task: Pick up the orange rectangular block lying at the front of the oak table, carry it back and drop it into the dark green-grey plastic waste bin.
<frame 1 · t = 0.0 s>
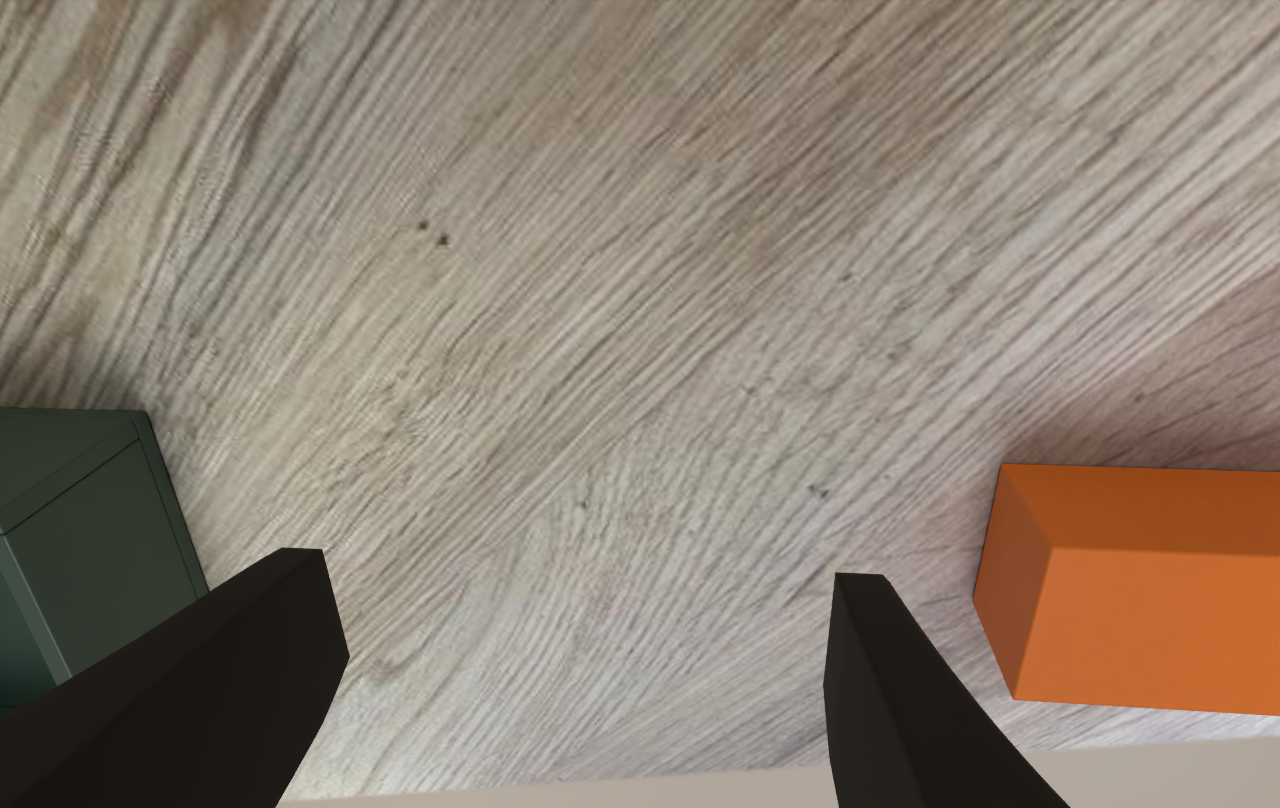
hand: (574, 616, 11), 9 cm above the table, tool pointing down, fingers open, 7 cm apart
orange rectangular block: (1146, 541, 20), on the table
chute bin: (28, 574, 25), on the table
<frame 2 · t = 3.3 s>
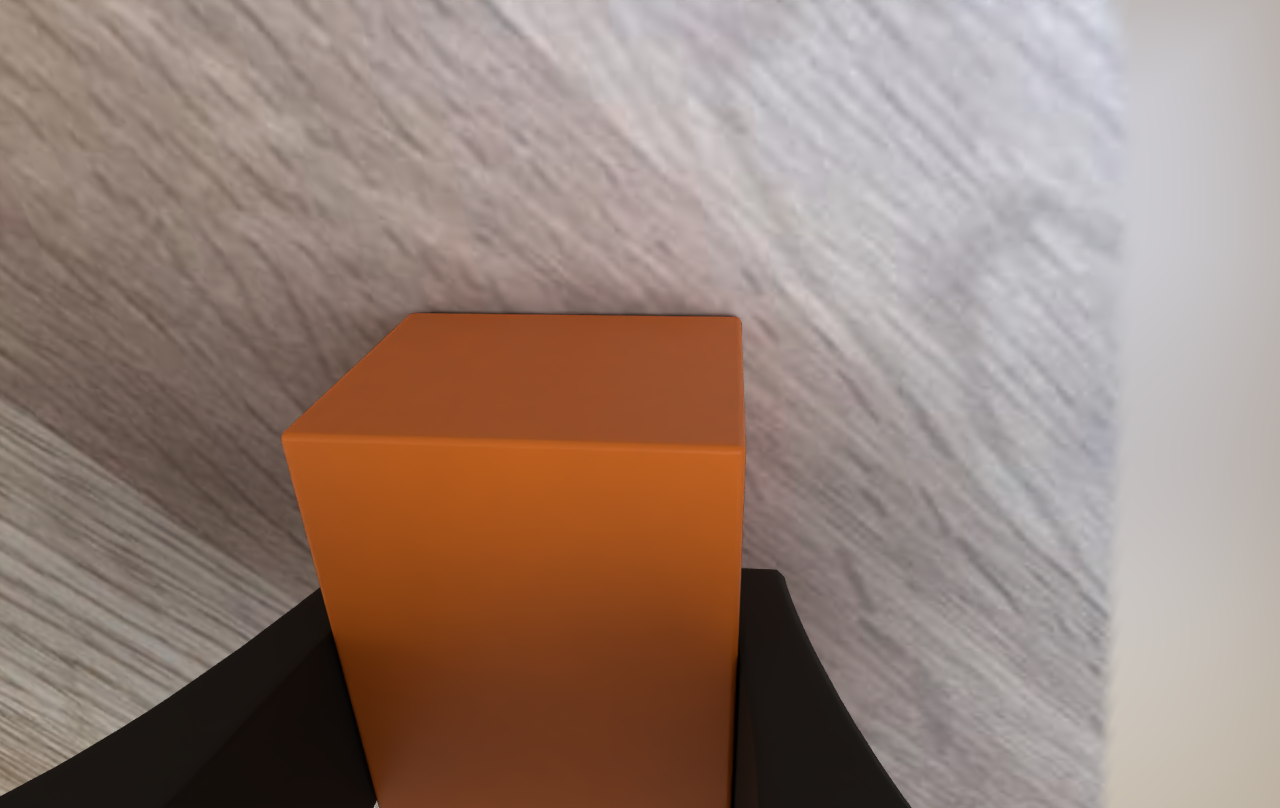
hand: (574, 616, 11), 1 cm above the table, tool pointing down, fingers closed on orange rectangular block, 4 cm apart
orange rectangular block: (588, 554, 12), on the table, touching gripper
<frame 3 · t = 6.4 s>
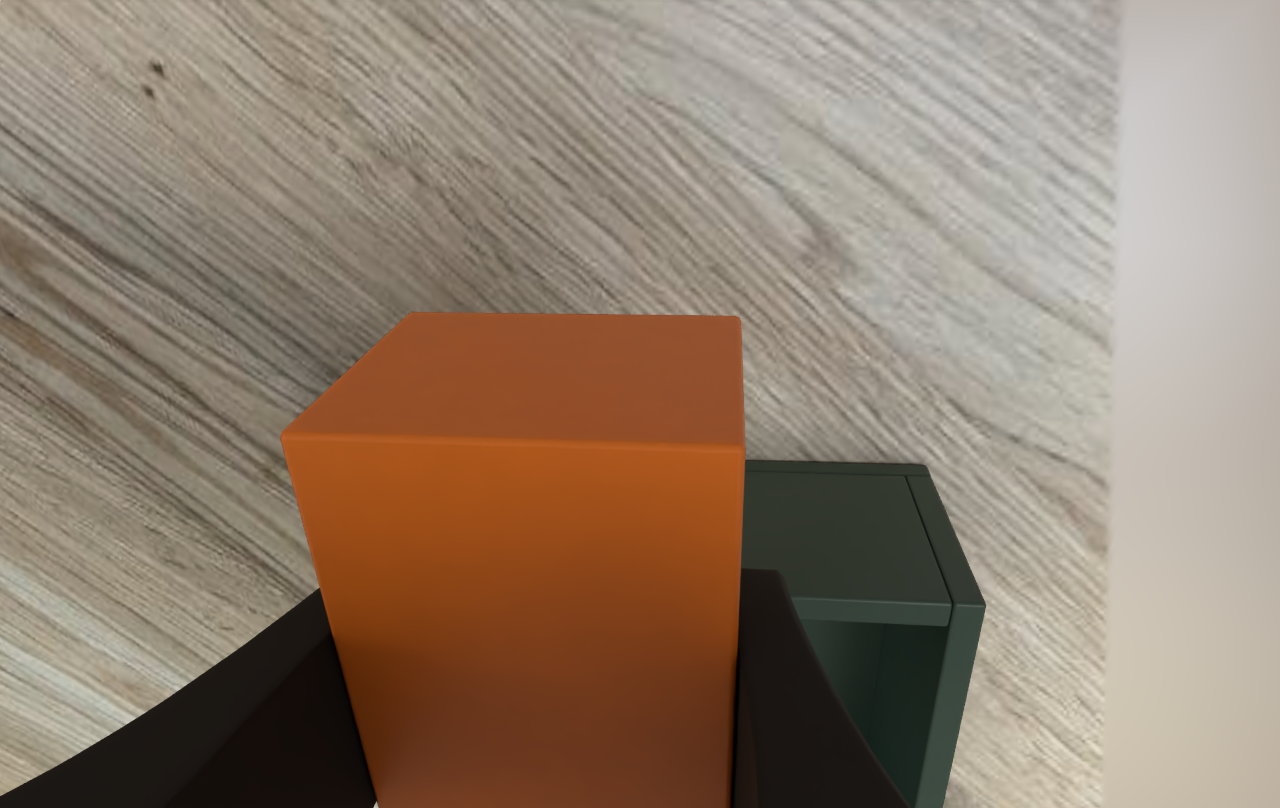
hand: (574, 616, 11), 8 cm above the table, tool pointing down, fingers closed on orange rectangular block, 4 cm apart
orange rectangular block: (588, 554, 12), point 7 cm above the table, touching gripper
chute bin: (676, 642, 22), on the table
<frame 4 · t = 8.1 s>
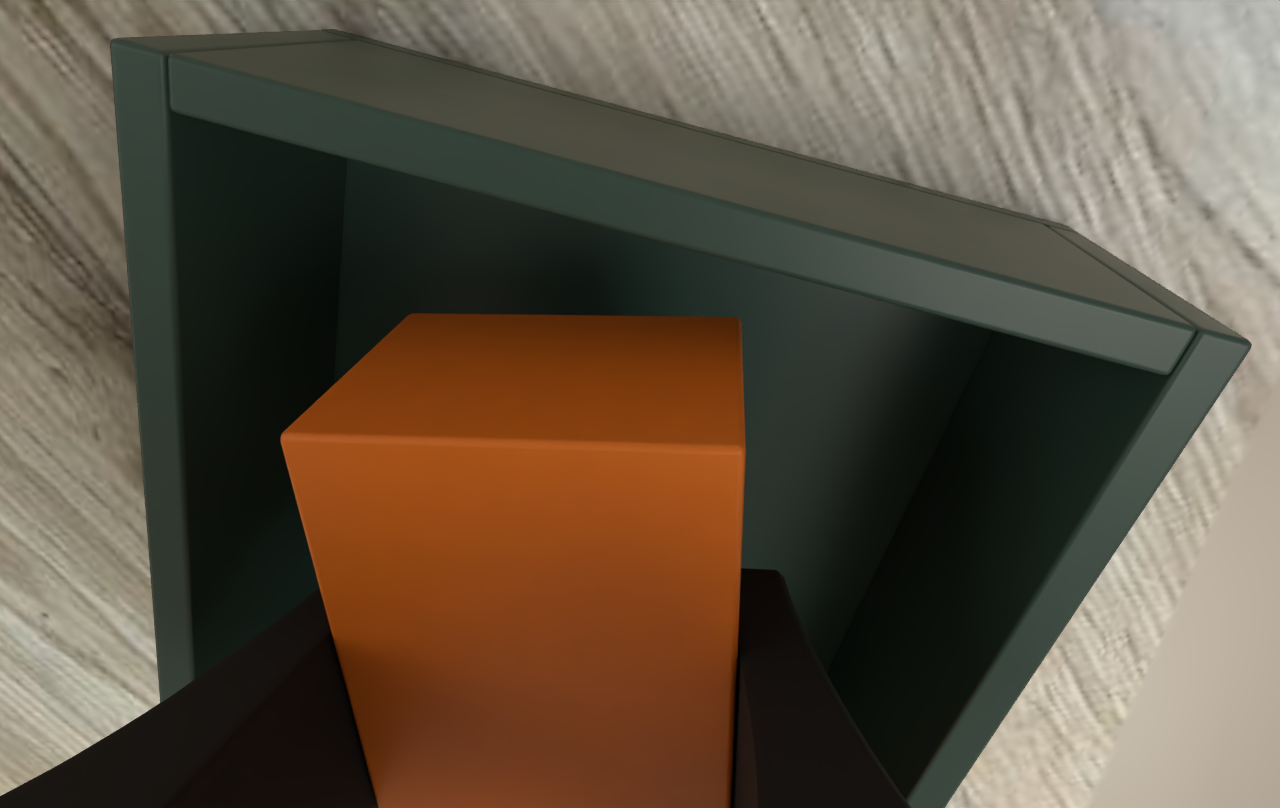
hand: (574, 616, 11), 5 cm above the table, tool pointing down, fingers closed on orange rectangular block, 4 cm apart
orange rectangular block: (588, 555, 12), point 3 cm above the table, touching gripper
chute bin: (619, 446, 15), on the table
when the fingers open (2 cm above the table, at t = 9.5 s): orange rectangular block stays where it is, resting on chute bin.
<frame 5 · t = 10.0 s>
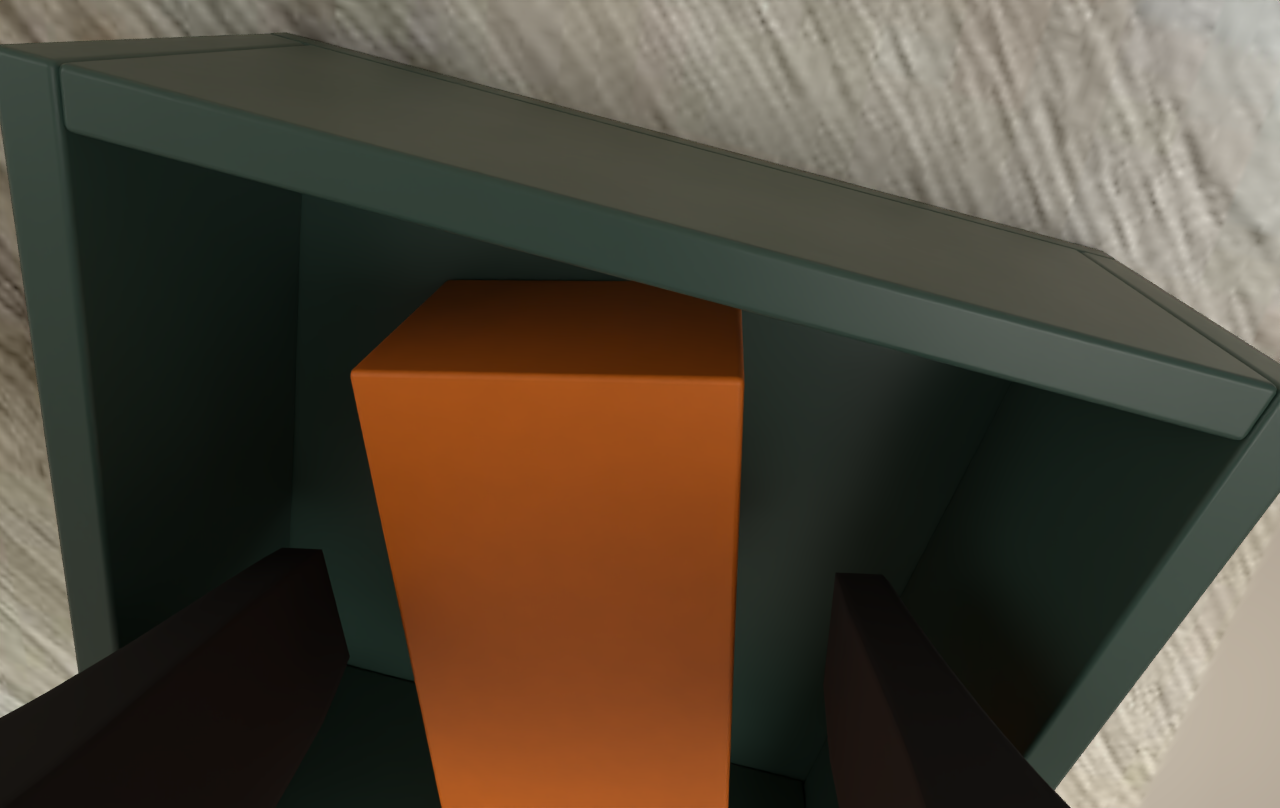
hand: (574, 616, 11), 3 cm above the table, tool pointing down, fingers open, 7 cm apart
orange rectangular block: (602, 501, 13), resting on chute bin
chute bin: (607, 486, 14), on the table
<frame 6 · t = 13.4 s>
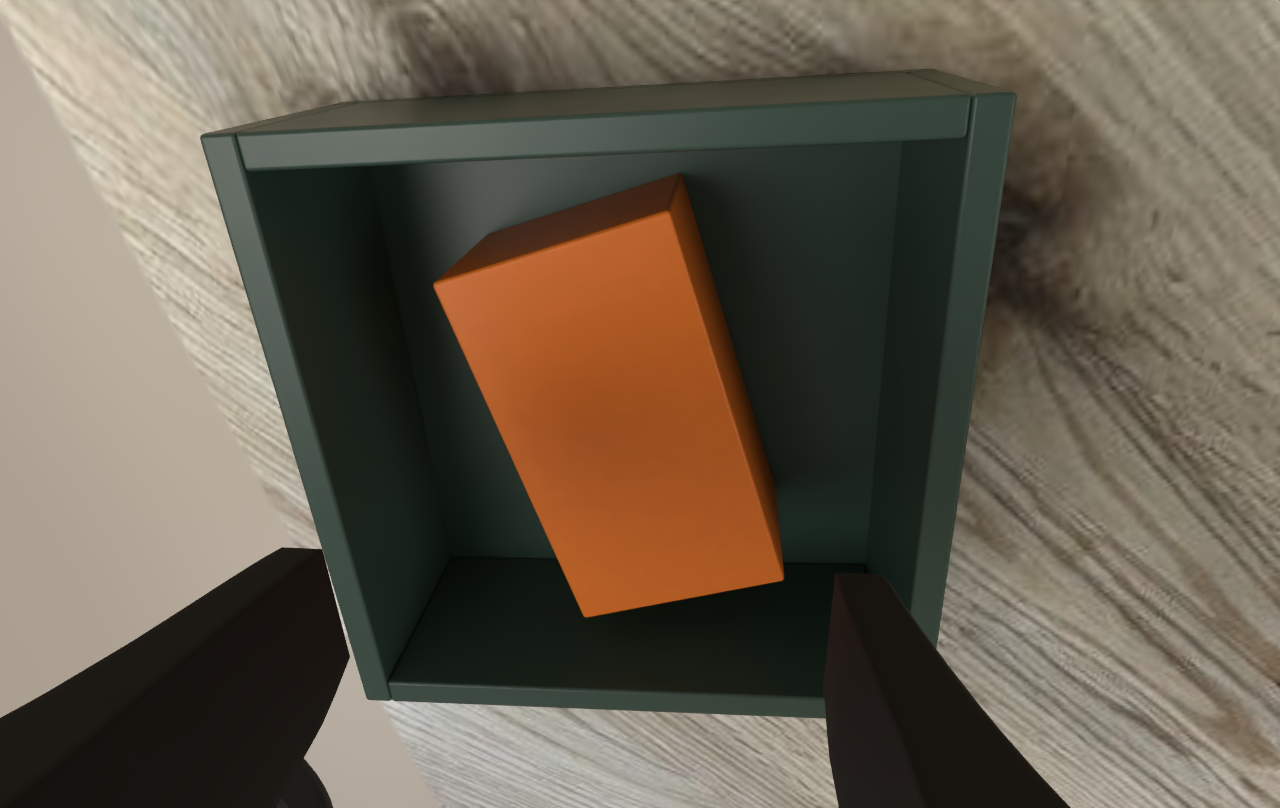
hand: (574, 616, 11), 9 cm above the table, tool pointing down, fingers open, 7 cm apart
orange rectangular block: (639, 369, 18), resting on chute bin
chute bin: (641, 361, 19), on the table
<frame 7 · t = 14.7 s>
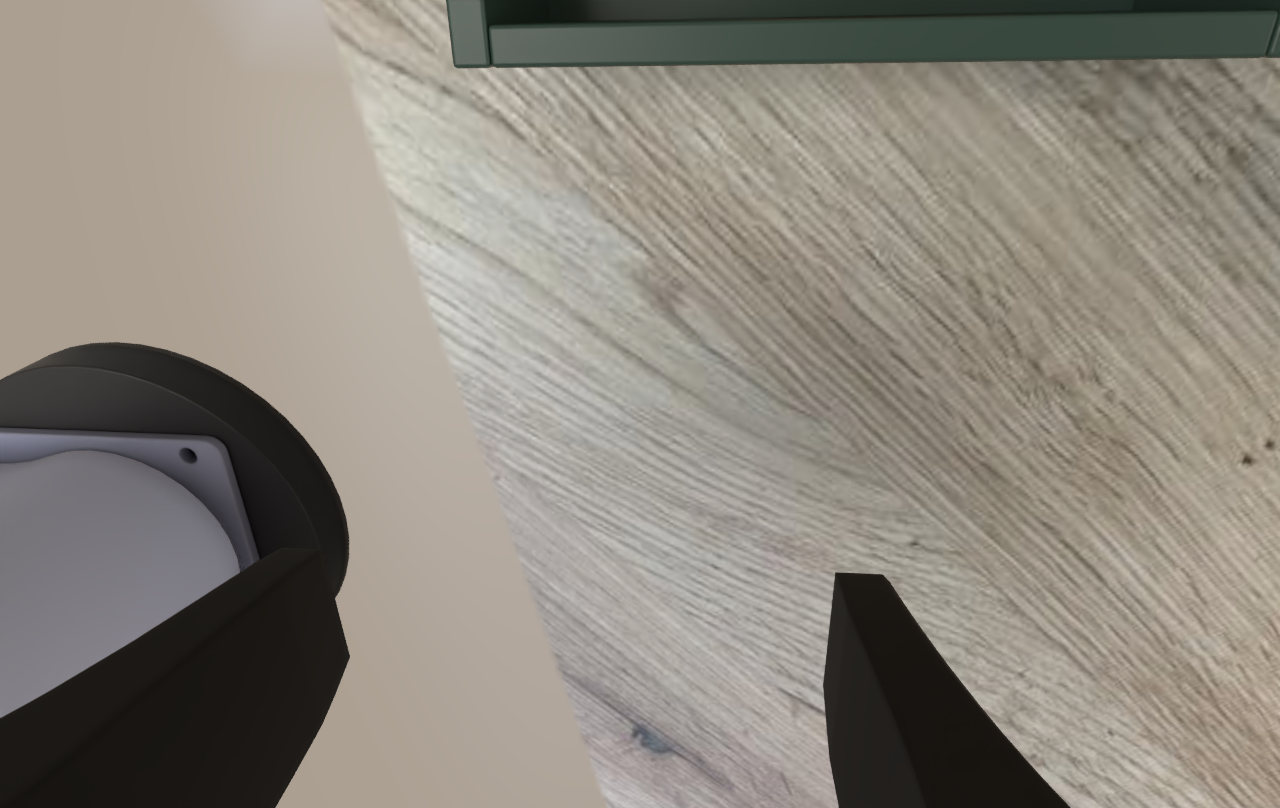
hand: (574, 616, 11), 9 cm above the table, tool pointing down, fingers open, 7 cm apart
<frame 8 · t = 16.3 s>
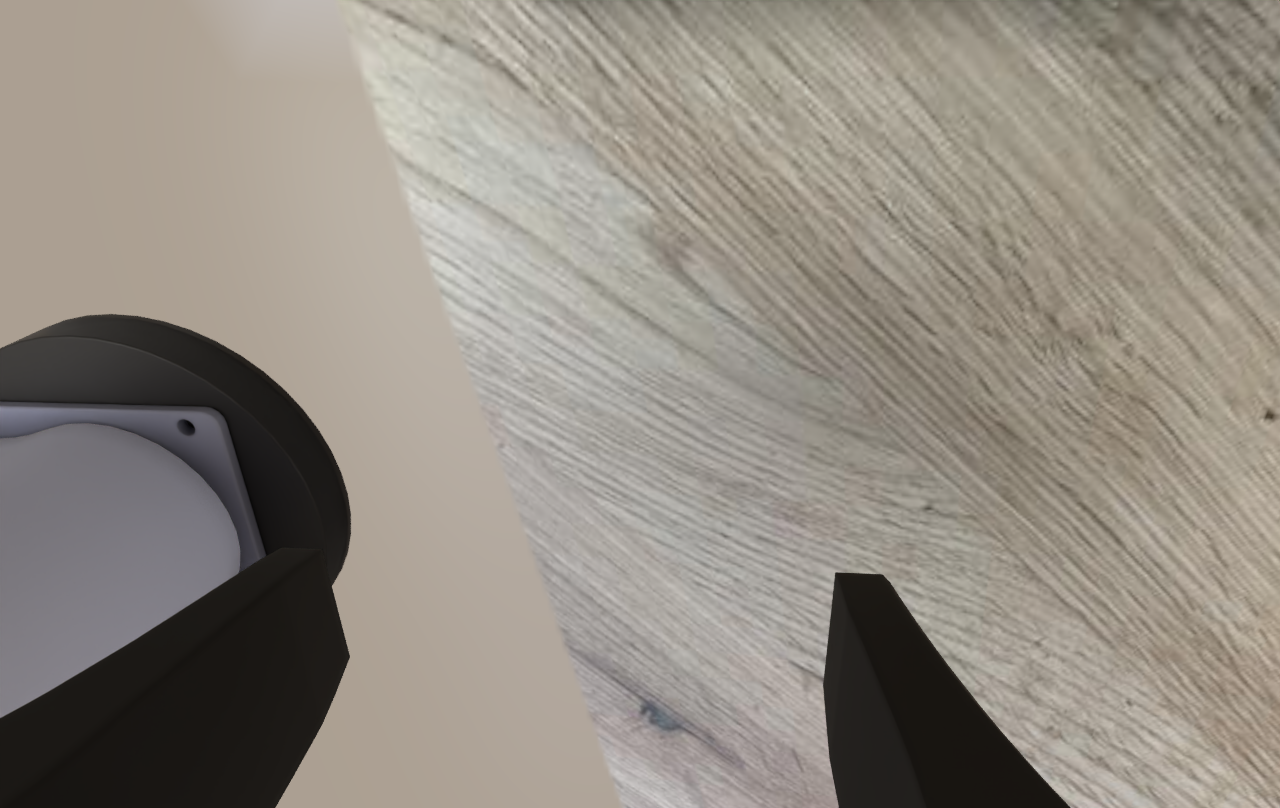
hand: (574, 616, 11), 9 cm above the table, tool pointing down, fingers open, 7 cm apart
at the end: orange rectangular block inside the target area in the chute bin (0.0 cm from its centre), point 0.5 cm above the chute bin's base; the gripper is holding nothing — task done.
